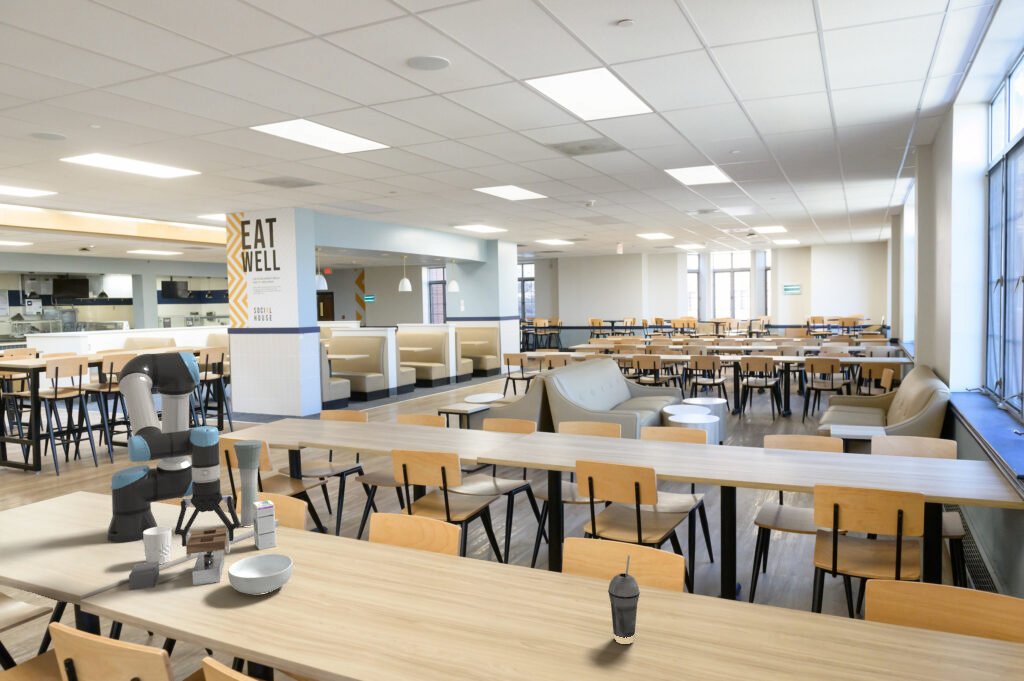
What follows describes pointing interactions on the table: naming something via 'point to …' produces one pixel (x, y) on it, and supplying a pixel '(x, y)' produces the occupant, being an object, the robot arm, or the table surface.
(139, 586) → the riser
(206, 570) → the chassis
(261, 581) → the cereal bowl
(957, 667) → the table surface
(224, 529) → the board
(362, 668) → the table surface
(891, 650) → the table surface
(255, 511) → the syrup box
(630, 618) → the beverage cup
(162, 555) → the white cup
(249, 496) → the container
